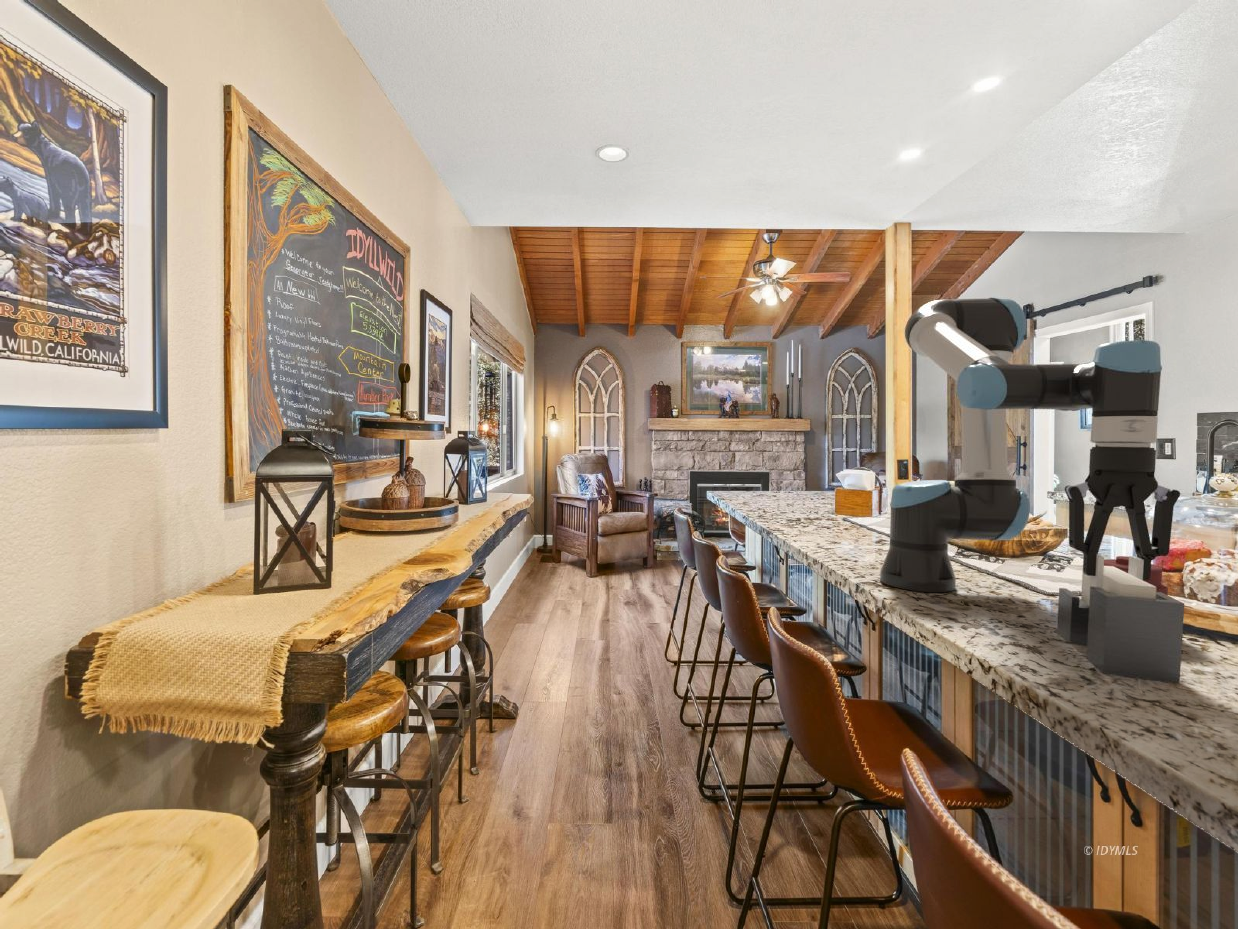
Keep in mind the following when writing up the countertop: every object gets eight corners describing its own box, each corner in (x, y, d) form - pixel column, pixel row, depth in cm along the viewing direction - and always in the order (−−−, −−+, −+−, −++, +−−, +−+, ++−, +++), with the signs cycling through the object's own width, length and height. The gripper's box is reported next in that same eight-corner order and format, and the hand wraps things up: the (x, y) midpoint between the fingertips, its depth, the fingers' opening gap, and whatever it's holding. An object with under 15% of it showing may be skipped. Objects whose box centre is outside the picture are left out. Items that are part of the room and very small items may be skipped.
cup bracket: (1086, 658, 87) (1090, 586, 86) (1157, 667, 84) (1161, 592, 83) (1103, 673, 81) (1107, 596, 81) (1179, 683, 78) (1184, 603, 78)
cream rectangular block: (1081, 600, 95) (1082, 564, 95) (1111, 602, 94) (1113, 566, 94) (1118, 625, 82) (1120, 584, 82) (1153, 629, 81) (1156, 587, 80)
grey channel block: (1057, 631, 99) (1059, 587, 99) (1118, 638, 96) (1120, 593, 96) (1069, 643, 93) (1072, 596, 93) (1134, 650, 90) (1137, 602, 90)
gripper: (1062, 444, 87) (1055, 598, 88) (1211, 446, 80) (1201, 612, 82) (1046, 444, 94) (1039, 587, 95) (1181, 446, 87) (1173, 598, 89)
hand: (1114, 598), depth 88 cm, fingers closed on cream rectangular block, 4 cm apart
